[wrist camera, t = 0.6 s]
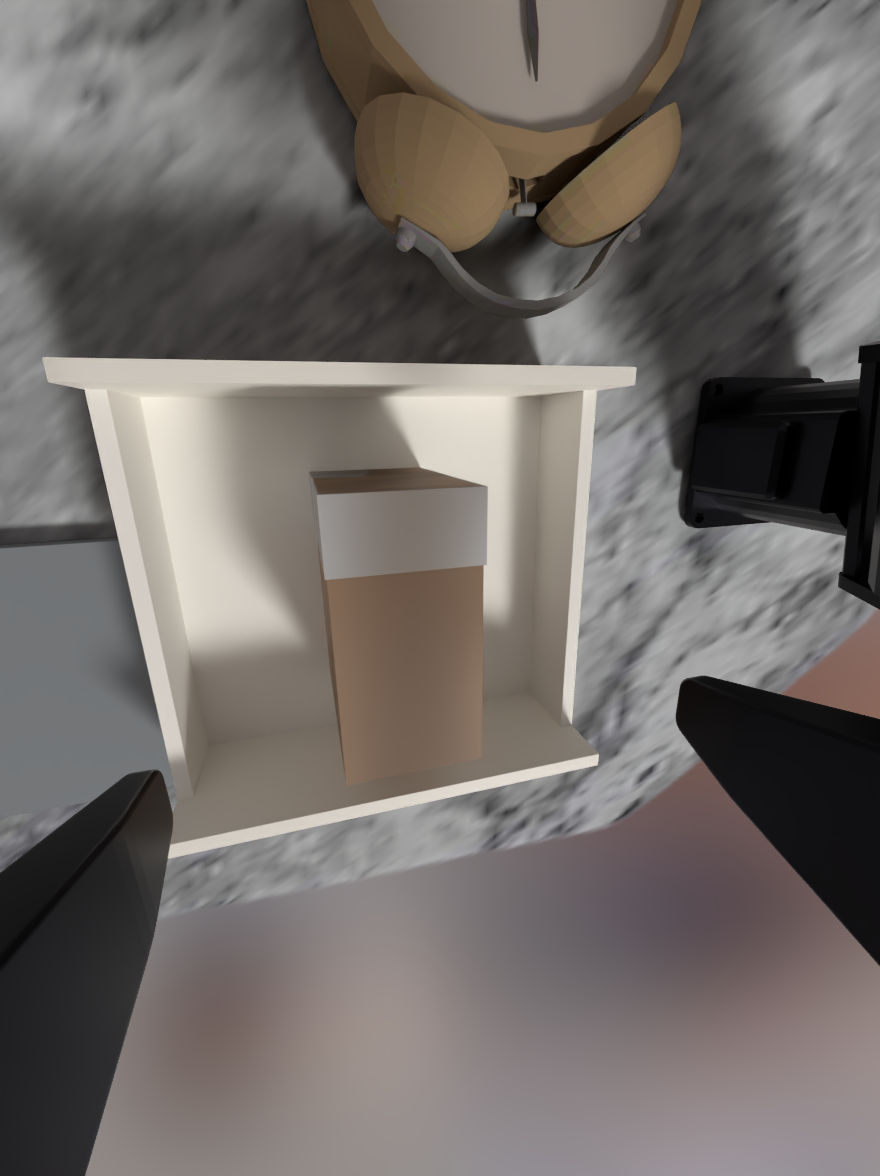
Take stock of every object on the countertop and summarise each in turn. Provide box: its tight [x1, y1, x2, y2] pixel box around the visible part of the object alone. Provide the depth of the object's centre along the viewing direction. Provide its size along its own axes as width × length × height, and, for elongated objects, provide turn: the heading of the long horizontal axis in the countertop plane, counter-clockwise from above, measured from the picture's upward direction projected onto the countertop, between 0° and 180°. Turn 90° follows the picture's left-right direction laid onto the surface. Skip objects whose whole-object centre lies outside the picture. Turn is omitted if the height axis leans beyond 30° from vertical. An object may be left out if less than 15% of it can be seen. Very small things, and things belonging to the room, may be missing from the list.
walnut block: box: [309, 467, 488, 785], centre depth 16 cm, size 4×8×7 cm, turn 1°
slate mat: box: [0, 537, 174, 818], centre depth 17 cm, size 7×10×1 cm
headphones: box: [306, 0, 702, 319], centre depth 14 cm, size 11×5×15 cm
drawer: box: [42, 357, 637, 859], centre depth 17 cm, size 15×14×6 cm
